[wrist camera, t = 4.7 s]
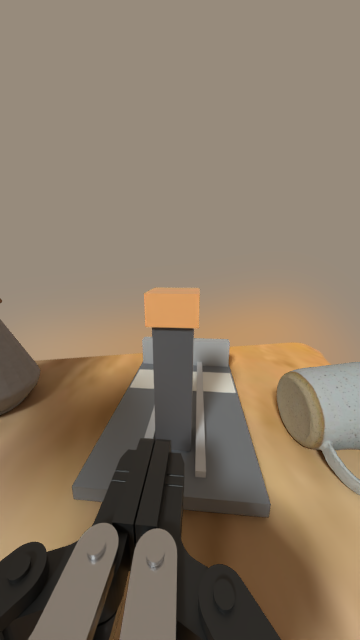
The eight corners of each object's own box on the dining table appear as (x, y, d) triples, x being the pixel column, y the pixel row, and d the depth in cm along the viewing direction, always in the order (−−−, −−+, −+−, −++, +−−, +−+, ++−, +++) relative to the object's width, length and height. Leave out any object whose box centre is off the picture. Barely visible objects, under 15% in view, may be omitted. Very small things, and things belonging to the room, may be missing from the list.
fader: (195, 455, 18) (199, 294, 15) (150, 452, 18) (144, 293, 15) (196, 423, 22) (199, 288, 18) (158, 420, 22) (154, 287, 18)
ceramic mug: (268, 413, 25) (276, 353, 23) (333, 409, 26) (347, 350, 24) (341, 517, 15) (367, 426, 13) (446, 506, 16) (486, 417, 14)
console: (268, 517, 15) (277, 456, 14) (73, 499, 16) (64, 441, 15) (227, 368, 36) (229, 338, 35) (145, 365, 37) (143, 336, 36)
